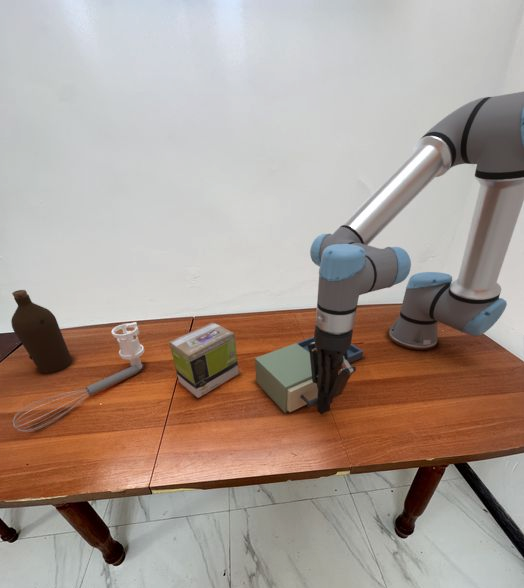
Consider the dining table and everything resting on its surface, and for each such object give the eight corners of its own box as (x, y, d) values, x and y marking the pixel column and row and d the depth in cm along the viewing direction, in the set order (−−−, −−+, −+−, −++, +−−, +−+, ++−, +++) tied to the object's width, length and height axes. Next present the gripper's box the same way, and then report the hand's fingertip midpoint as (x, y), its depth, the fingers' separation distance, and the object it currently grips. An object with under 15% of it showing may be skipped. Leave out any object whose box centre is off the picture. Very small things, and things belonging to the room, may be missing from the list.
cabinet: (326, 392, 81) (330, 367, 76) (284, 413, 75) (285, 387, 70) (295, 366, 91) (296, 342, 87) (255, 382, 86) (254, 357, 81)
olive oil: (80, 354, 99) (49, 284, 86) (64, 374, 91) (26, 298, 77) (48, 356, 99) (12, 285, 86) (29, 375, 90) (-16, 300, 77)
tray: (329, 336, 106) (329, 330, 104) (362, 357, 94) (363, 351, 93) (289, 351, 98) (289, 345, 97) (320, 376, 87) (320, 369, 86)
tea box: (219, 361, 94) (213, 320, 86) (239, 375, 88) (236, 332, 80) (178, 383, 86) (167, 340, 78) (197, 400, 80) (188, 355, 72)
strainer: (150, 369, 92) (138, 327, 83) (127, 377, 89) (112, 334, 81) (145, 358, 97) (133, 317, 89) (123, 365, 94) (108, 323, 86)
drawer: (339, 403, 76) (343, 382, 73) (300, 423, 71) (301, 402, 67) (298, 368, 89) (299, 349, 85) (261, 383, 84) (261, 364, 80)
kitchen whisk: (150, 371, 91) (145, 355, 87) (25, 443, 69) (12, 424, 66) (139, 364, 94) (134, 348, 90) (16, 430, 72) (3, 412, 69)
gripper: (299, 318, 62) (295, 400, 75) (343, 346, 53) (329, 434, 66) (326, 309, 65) (318, 390, 78) (372, 334, 56) (354, 421, 69)
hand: (323, 410), depth 72 cm, fingers closed
